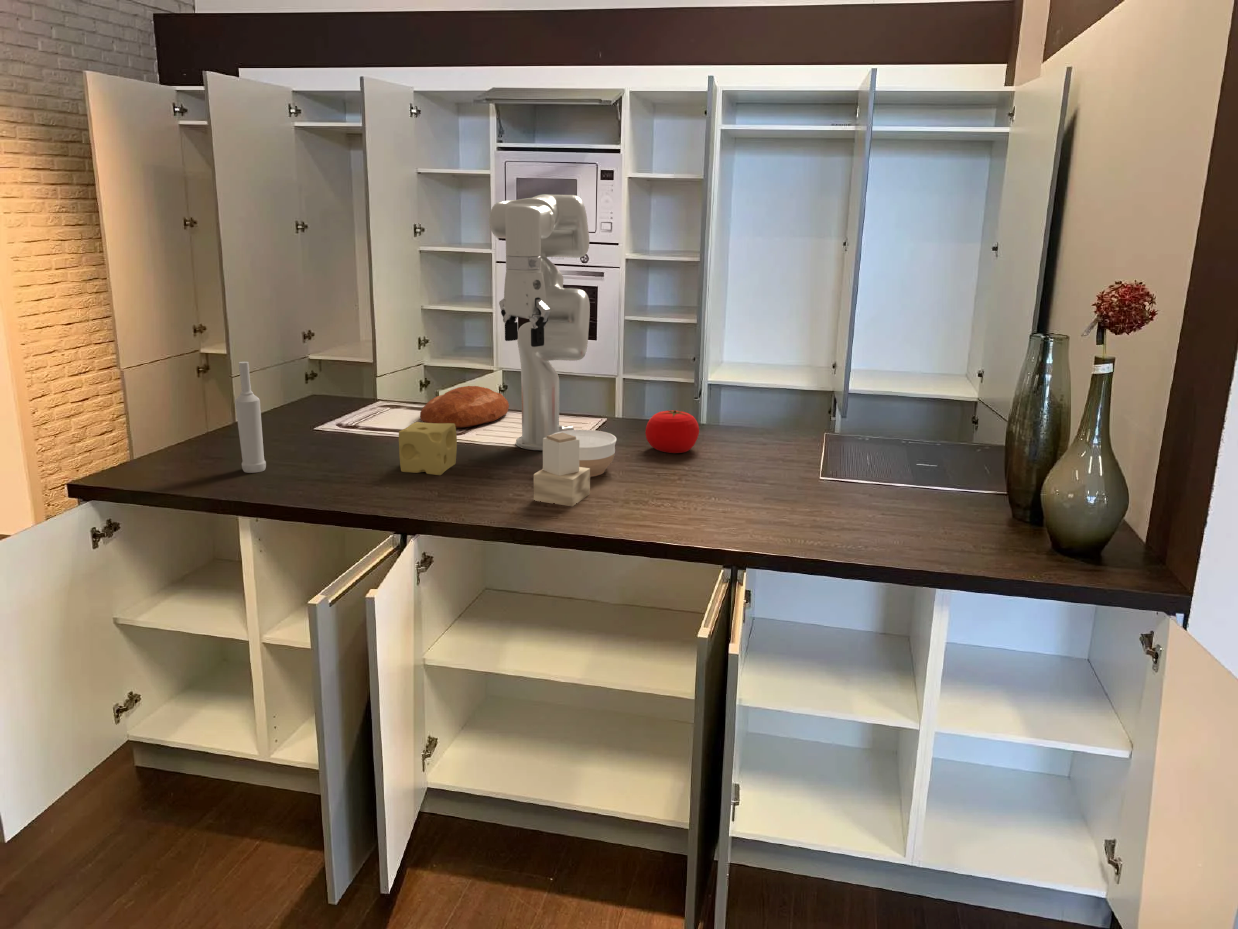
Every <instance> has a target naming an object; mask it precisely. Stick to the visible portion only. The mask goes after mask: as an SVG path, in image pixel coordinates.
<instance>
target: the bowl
mask: <svg viewBox="0 0 1238 929" xmlns="http://www.w3.org/2000/svg"><path fill="white" fill-rule="evenodd" d="M558 433H566V434H569V435H572V436H575V437H576V439H579V440H580V450H579V467H584V468H590V478H592V477H597V476H600V475H602V474H604V473H605V471H606V470H607V468H608V467H609V466H610V465H611V464H612V462H613V461H614V458H615V452H616V449H615V448H616V447H615V445H616V442H617V437H616V436H615V435H614V434H612V433H610V432H606V431H601V430H595V429H574V430H567V431H561V432H557V433H554V434H558Z"/></svg>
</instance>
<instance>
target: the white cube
mask: <svg viewBox="0 0 1238 929" xmlns="http://www.w3.org/2000/svg"><path fill="white" fill-rule="evenodd" d="M579 450H580V440H579V439H576V437H575V436H572V435H569V434H566V433H558V434H552V435H547V438H543V450H542V469H543V470H544V471H547V472H549V473H552V474H555V475H557V476H561V475H566V474H570V473H574V472H579Z"/></svg>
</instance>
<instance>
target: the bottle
mask: <svg viewBox="0 0 1238 929" xmlns="http://www.w3.org/2000/svg"><path fill="white" fill-rule="evenodd" d="M249 363H250V362H249V361H238V369H239V377H240V387H241V391H240V393H239V396H238V397H236V398H235V399H234V404H235V411H236V412H235V413H236V422H237V429H238V435H239V444H240V451H241V458H242V462H241V468H242V471H243V472H244V473H249V474H251V473H252V474H255V473H260V472H263V471H265V470H266V467H267V461H266V460H265V456H264V455H265V454H264V443H263V442H264V440H263V427H262V426H263V425H262V411H261V400H260V398H259V397H258V396H257V395H255V394H254V392H253V391H252V386H251V376H250V364H249Z"/></svg>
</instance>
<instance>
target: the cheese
mask: <svg viewBox="0 0 1238 929" xmlns="http://www.w3.org/2000/svg"><path fill="white" fill-rule="evenodd" d="M457 435H458V434H457V428H456V427H455V424H454V423H426V422H423V421H422V422H420V421H416V422H413V423H411V424H410V425H408V426H407V427H405V428H403V429H401V430H399V431H398V454H399V466H400V471H401V472H402V473H414V474H415V473H417V474H418V473H425V474H427V475H435V476H441V475H443V474H444V473H445V472H446V471H447V470H449V469H450V468H452V467H453V466H455V465H456V461H457V460H456V459H457V451H458V450H457V449H458V448H457V447H458V443H457V442H458V439H457Z"/></svg>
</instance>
